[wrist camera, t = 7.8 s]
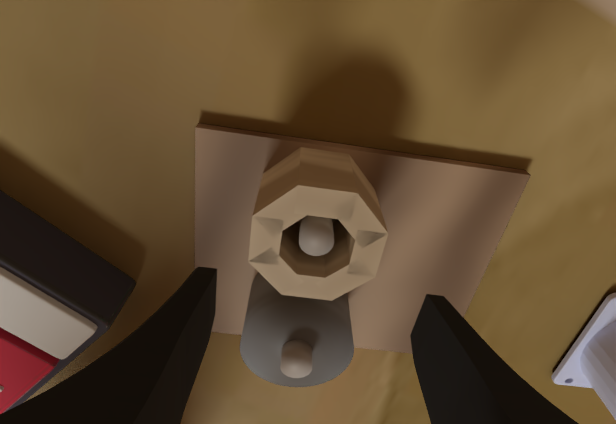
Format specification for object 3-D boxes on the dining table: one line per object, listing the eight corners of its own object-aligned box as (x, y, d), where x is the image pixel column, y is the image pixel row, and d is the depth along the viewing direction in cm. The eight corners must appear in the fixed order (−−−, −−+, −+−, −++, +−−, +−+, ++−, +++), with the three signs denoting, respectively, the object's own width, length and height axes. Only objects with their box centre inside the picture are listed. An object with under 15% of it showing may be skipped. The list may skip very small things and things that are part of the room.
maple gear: (382, 158, 19) (399, 198, 15) (357, 252, 21) (366, 304, 18) (266, 142, 18) (255, 179, 15) (256, 239, 21) (245, 290, 17)
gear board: (524, 170, 19) (596, 231, 15) (441, 349, 26) (472, 433, 21) (198, 123, 18) (158, 173, 14) (196, 322, 25) (169, 404, 20)
